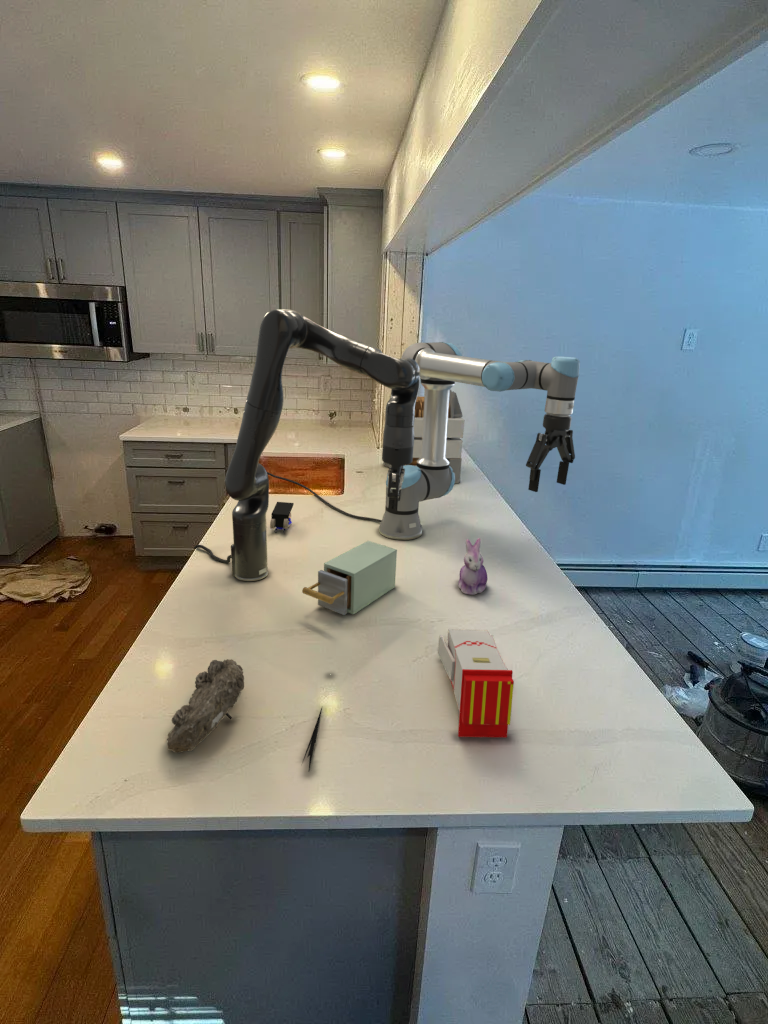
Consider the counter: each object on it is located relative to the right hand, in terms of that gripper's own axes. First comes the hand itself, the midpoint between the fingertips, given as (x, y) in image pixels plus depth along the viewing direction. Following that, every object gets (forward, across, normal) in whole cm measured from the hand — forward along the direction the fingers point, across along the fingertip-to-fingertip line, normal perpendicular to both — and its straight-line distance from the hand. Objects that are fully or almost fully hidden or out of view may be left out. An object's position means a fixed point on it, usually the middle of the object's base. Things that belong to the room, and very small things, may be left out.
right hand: (547, 487), depth 165 cm
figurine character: (+28, -46, +74) cm, 92 cm away
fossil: (+28, -105, -4) cm, 109 cm away
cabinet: (+28, -53, +19) cm, 63 cm away
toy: (+28, -60, -28) cm, 71 cm away
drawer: (+27, -59, +17) cm, 67 cm away
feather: (+28, -89, -17) cm, 95 cm away
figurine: (+28, -24, +4) cm, 37 cm away
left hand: (0, -49, +11) cm, 51 cm away
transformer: (+28, +45, +102) cm, 114 cm away
